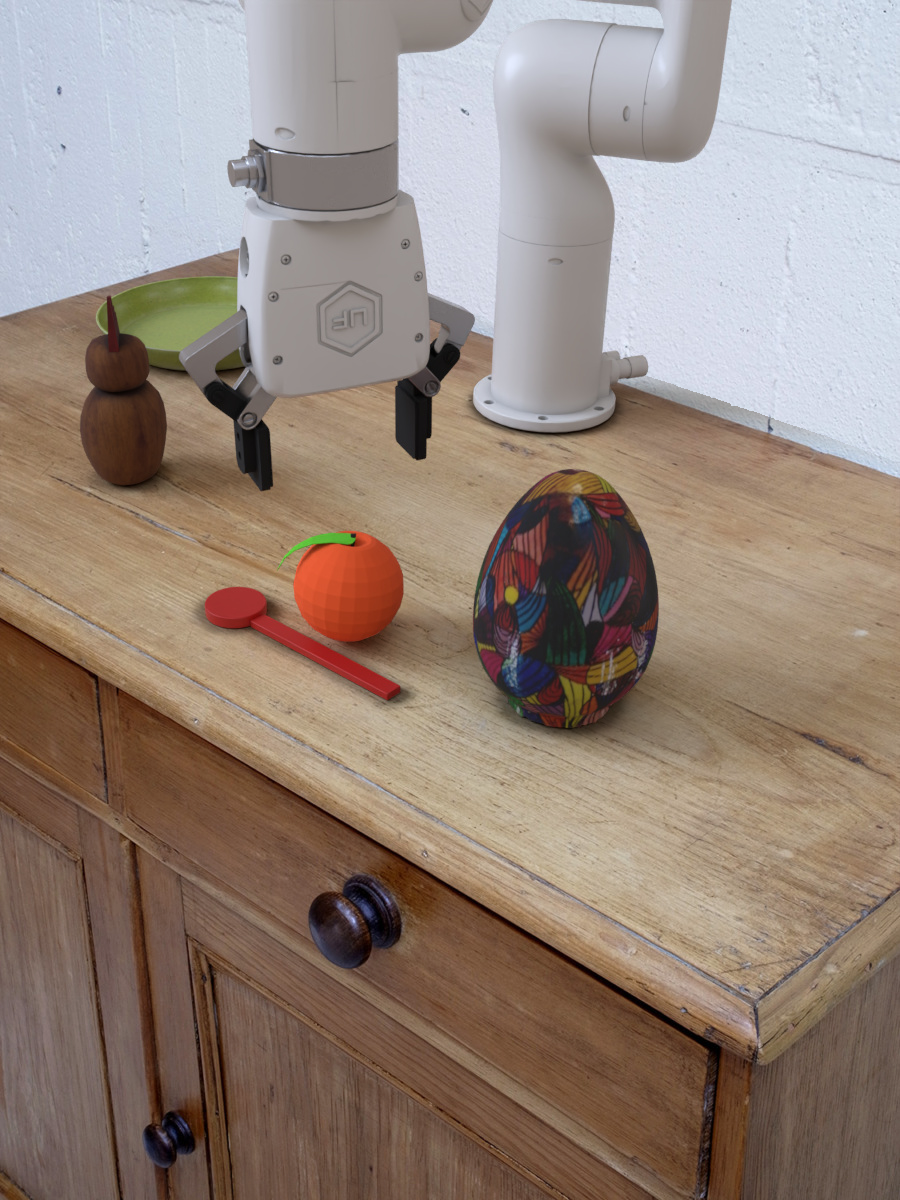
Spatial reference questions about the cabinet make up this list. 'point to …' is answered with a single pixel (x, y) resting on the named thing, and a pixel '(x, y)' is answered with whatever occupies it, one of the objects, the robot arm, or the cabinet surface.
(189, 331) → the saucer
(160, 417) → the wooden figurine
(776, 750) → the cabinet surface
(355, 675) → the spoon
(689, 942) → the cabinet surface
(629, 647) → the egg
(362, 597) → the clementine
